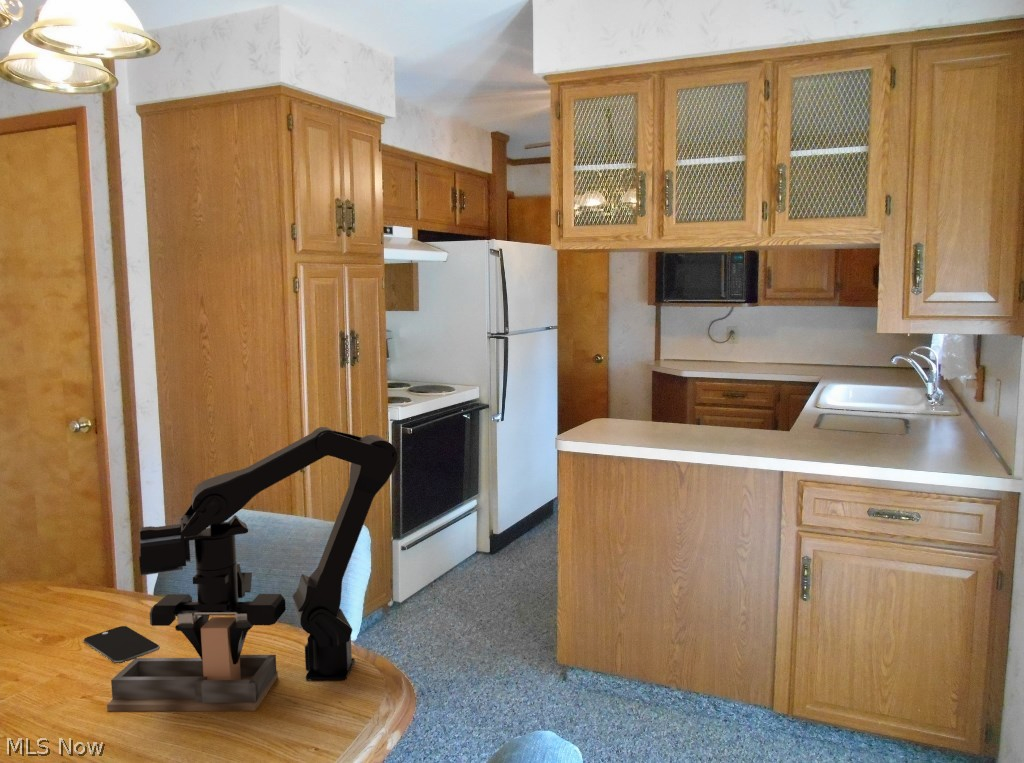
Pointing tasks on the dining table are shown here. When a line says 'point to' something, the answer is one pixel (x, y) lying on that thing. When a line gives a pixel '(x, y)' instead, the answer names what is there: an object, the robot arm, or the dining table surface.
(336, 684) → the dining table surface
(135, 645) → the smartphone
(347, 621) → the robot arm
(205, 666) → the peg
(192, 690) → the keyhole board
